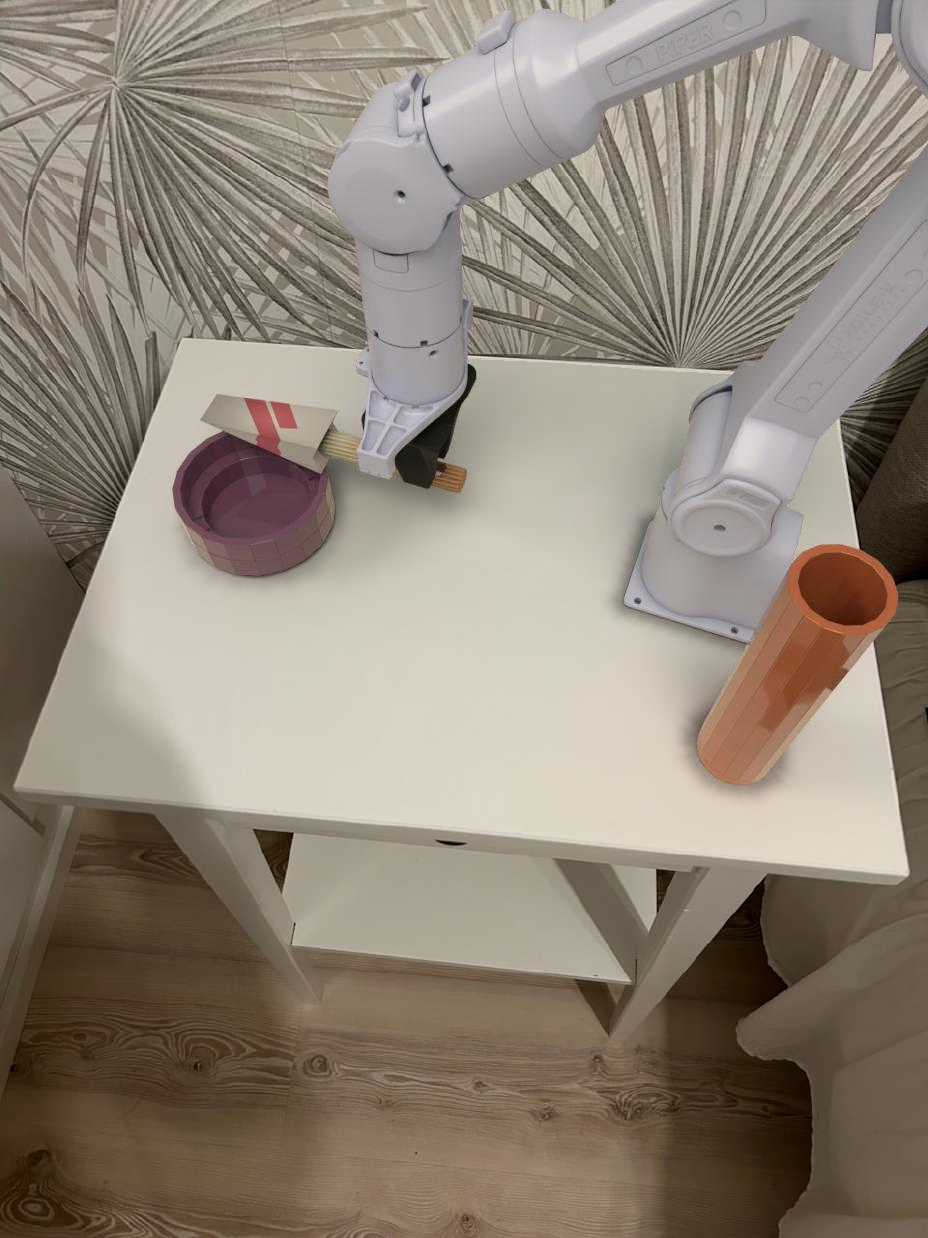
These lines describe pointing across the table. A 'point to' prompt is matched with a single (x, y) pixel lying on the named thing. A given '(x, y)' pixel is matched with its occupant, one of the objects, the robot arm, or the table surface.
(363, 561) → the table surface
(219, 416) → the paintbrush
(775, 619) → the vase
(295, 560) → the bowl
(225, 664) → the table surface
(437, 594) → the table surface
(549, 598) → the table surface
